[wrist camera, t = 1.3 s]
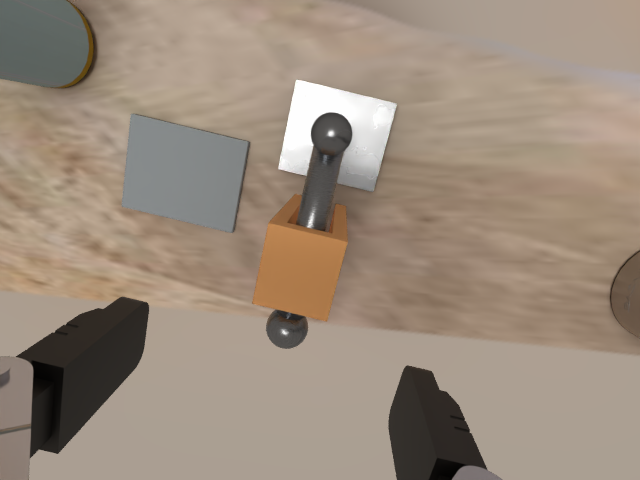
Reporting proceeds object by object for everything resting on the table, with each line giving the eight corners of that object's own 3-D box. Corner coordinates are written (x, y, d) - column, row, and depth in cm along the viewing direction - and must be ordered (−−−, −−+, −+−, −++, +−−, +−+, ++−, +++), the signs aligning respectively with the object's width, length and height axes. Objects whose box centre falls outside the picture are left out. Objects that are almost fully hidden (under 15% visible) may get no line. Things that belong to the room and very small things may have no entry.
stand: (394, 105, 31) (435, 76, 17) (347, 282, 35) (349, 372, 21) (298, 82, 31) (263, 34, 17) (261, 262, 35) (209, 339, 21)
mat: (250, 141, 32) (248, 141, 32) (233, 231, 34) (231, 233, 34) (134, 114, 32) (131, 113, 32) (125, 205, 34) (121, 206, 34)
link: (346, 206, 30) (347, 242, 19) (332, 259, 31) (326, 321, 20) (295, 193, 30) (268, 222, 19) (283, 247, 31) (252, 303, 20)
